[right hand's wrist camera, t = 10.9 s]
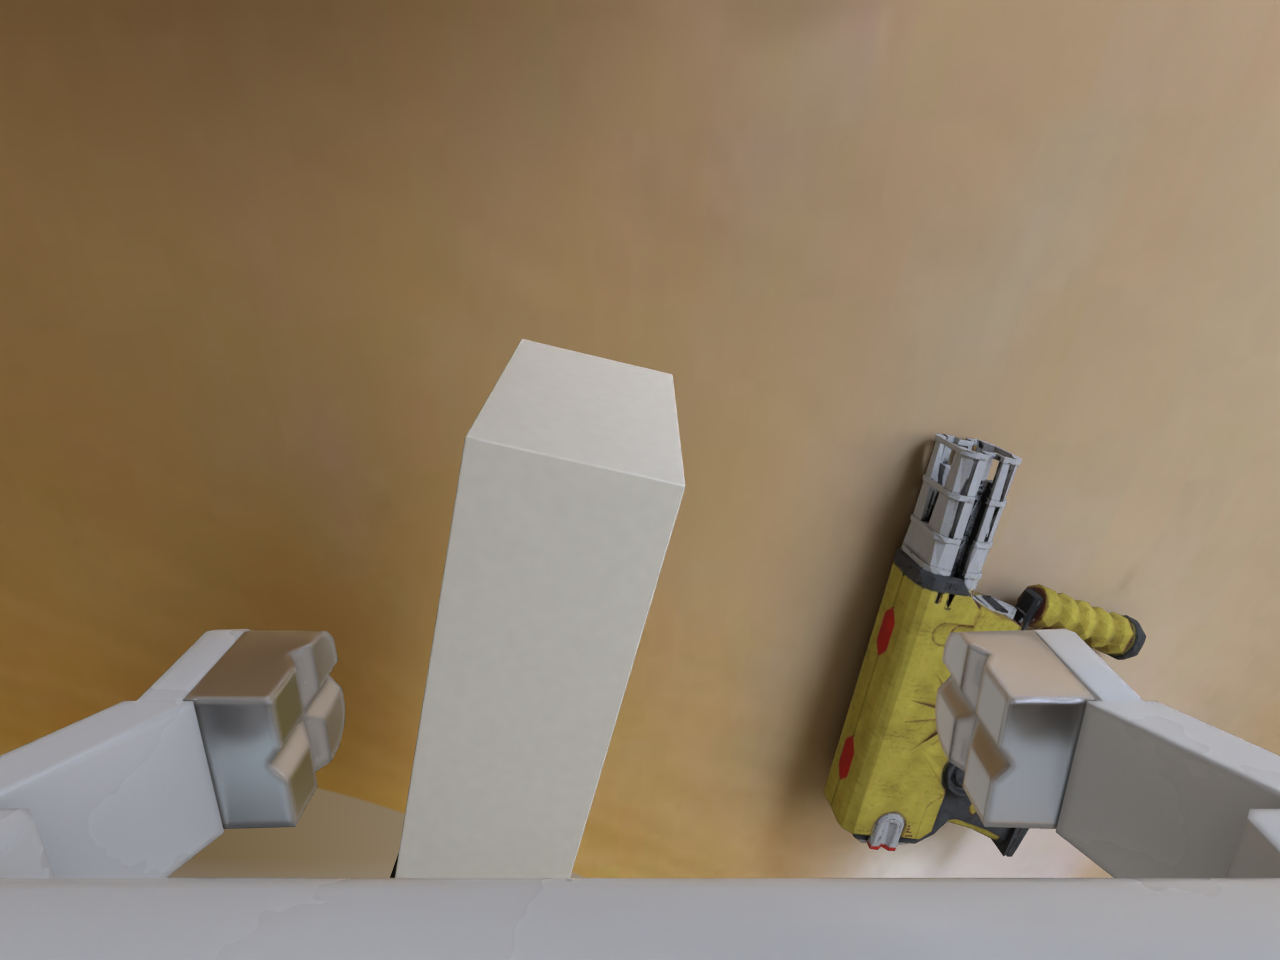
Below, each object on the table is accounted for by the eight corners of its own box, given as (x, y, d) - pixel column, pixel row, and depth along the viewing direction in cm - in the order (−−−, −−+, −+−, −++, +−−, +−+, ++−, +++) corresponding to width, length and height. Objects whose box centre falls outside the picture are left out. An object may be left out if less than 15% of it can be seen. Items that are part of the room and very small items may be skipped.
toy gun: (1234, 496, 39) (968, 453, 37) (1071, 870, 46) (838, 855, 44) (1165, 468, 44) (923, 428, 41) (1026, 814, 51) (812, 797, 48)
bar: (521, 338, 27) (464, 435, 19) (673, 374, 28) (686, 485, 19) (430, 836, 38) (367, 1048, 29) (543, 856, 38) (513, 1069, 30)
